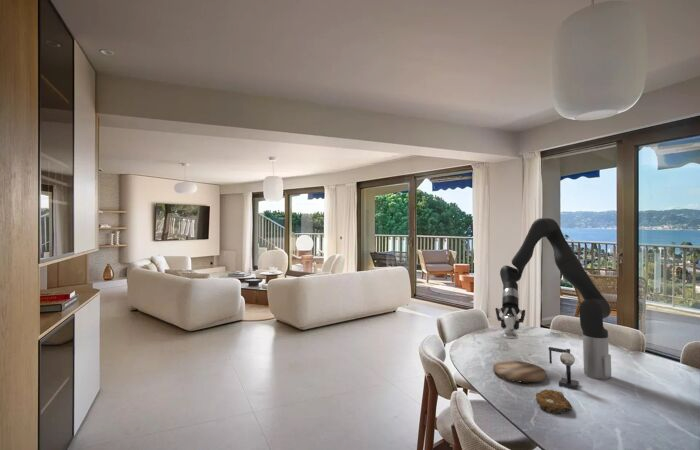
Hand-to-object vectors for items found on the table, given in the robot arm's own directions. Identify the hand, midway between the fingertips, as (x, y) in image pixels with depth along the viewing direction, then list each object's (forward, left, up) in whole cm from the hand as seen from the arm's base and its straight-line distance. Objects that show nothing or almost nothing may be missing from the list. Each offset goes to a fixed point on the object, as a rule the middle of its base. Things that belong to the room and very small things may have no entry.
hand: (510, 328), depth 175 cm
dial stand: (-26, +4, -17) cm, 31 cm away
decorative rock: (-33, +26, -17) cm, 45 cm away
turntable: (-10, +9, -16) cm, 21 cm away
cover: (+1, -2, -5) cm, 5 cm away
